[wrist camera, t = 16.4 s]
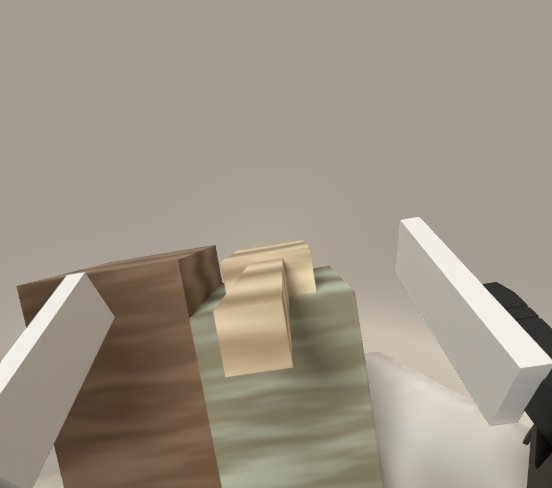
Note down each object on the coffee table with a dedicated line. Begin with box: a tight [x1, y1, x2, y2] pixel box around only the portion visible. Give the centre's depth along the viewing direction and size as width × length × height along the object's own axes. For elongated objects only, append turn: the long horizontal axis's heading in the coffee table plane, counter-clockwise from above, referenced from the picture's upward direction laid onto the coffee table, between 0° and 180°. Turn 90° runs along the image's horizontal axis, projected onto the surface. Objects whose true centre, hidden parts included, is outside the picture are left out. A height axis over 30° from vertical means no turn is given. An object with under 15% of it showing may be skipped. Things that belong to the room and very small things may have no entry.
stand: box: [17, 245, 384, 488], centre depth 33 cm, size 14×28×29 cm, turn 89°
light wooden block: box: [213, 240, 316, 377], centre depth 25 cm, size 24×8×4 cm, turn 179°
